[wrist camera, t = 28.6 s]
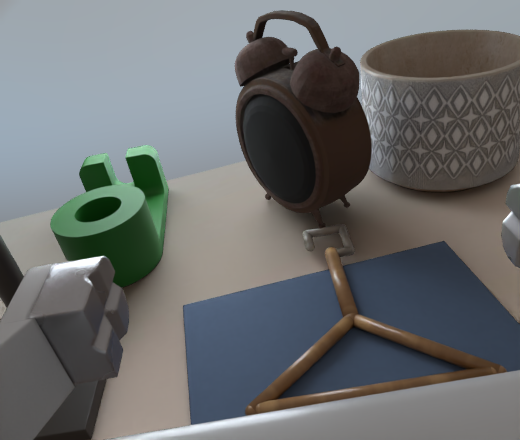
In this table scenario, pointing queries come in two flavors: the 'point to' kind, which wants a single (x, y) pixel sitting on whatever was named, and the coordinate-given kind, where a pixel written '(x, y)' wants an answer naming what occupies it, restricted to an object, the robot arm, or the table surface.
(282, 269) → the table surface
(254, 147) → the alarm clock
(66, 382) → the robot arm
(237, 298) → the mat
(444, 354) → the hanger
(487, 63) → the planter
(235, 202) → the table surface
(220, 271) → the table surface
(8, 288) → the rail
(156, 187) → the green bracket
